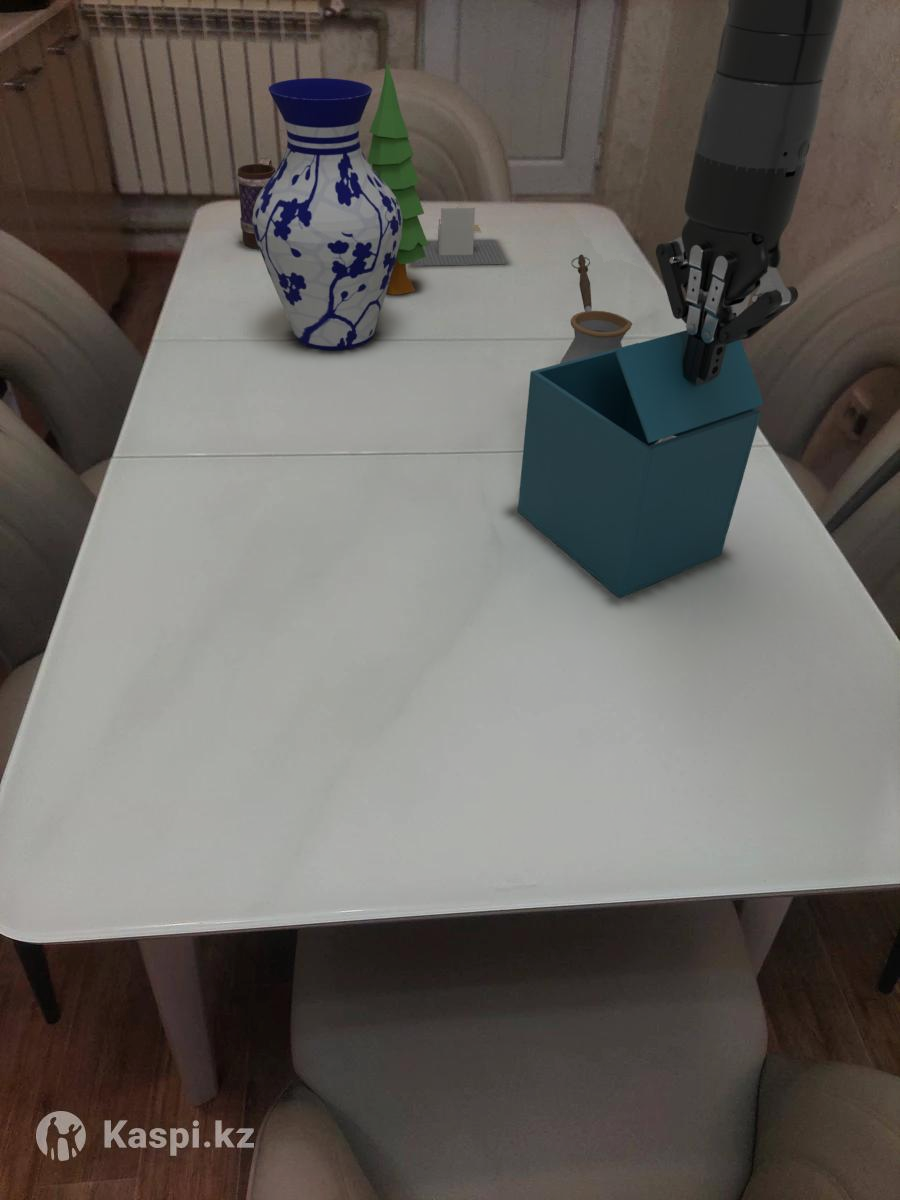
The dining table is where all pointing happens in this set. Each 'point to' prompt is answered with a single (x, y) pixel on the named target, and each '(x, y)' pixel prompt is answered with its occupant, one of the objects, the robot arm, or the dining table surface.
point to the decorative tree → (397, 180)
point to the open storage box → (625, 477)
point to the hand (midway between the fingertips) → (698, 379)
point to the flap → (684, 386)
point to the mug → (252, 195)
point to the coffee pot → (593, 324)
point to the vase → (327, 217)
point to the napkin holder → (459, 242)
